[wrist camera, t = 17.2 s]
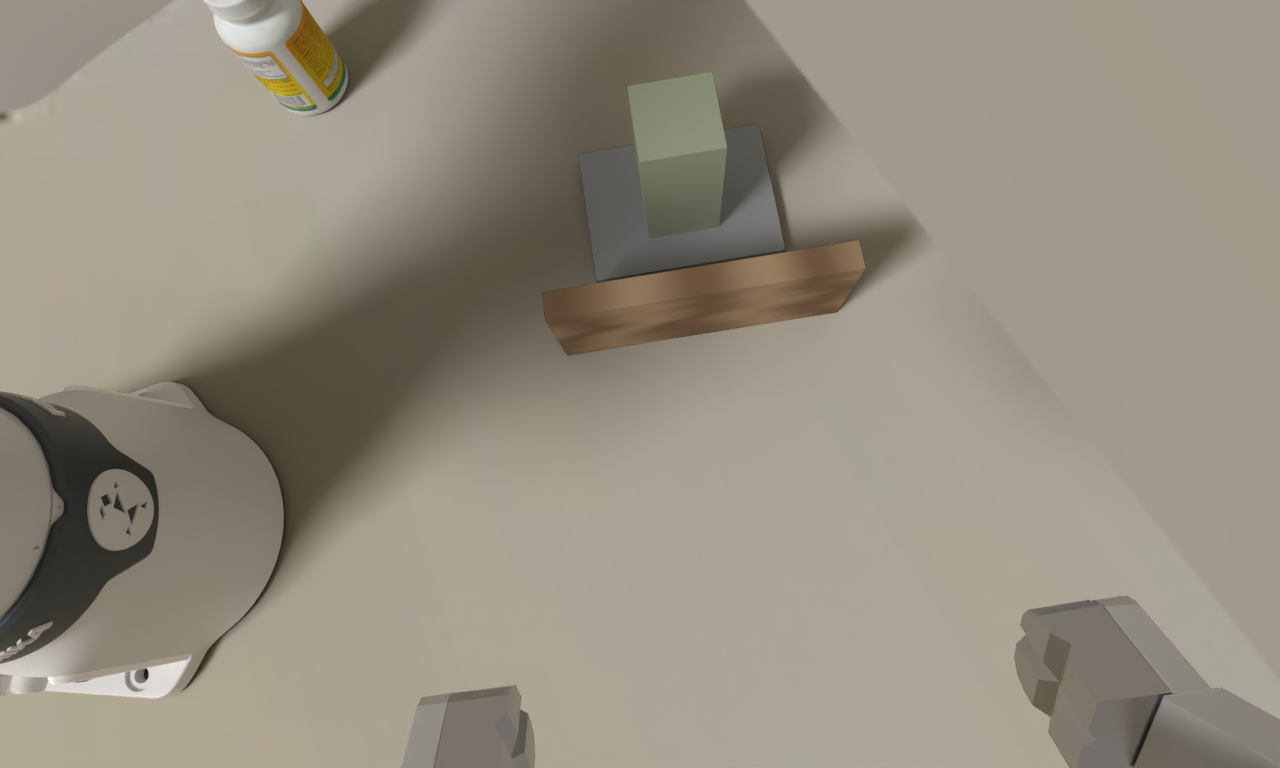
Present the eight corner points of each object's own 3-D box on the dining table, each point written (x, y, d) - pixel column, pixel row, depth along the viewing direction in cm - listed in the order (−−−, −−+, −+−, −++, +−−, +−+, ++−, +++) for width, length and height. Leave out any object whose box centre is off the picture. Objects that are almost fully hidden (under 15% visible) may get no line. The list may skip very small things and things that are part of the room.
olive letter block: (648, 238, 44) (639, 162, 35) (638, 172, 45) (626, 82, 36) (719, 226, 44) (727, 147, 35) (706, 161, 45) (711, 68, 36)
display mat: (597, 285, 44) (596, 280, 43) (580, 160, 46) (578, 154, 45) (783, 255, 44) (785, 249, 43) (757, 130, 46) (758, 123, 45)
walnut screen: (567, 355, 43) (545, 320, 36) (564, 331, 44) (541, 292, 37) (837, 312, 43) (865, 268, 36) (831, 288, 43) (859, 240, 36)
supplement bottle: (296, 131, 48) (202, 32, 39) (266, 75, 49) (168, -33, 40) (363, 93, 49) (286, -14, 39) (332, 39, 50) (250, -77, 40)
